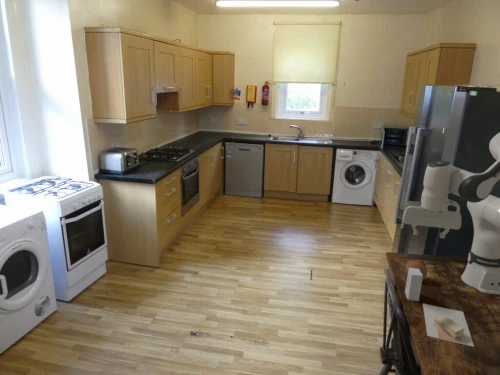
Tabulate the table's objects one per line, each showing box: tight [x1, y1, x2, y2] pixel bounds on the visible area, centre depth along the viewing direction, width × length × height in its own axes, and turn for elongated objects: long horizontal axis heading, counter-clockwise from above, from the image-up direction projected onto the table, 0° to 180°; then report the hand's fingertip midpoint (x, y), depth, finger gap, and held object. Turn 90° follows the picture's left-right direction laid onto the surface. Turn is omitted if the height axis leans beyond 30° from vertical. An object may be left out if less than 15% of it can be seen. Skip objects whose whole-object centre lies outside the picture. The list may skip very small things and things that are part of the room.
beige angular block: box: [434, 315, 464, 339], centre depth 124 cm, size 8×4×3 cm, turn 26°
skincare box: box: [404, 268, 423, 302], centre depth 143 cm, size 6×4×12 cm
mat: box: [422, 303, 475, 347], centre depth 128 cm, size 14×20×1 cm
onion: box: [403, 259, 428, 282], centre depth 157 cm, size 10×9×10 cm
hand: (428, 236), depth 139 cm, fingers open, 8 cm apart
